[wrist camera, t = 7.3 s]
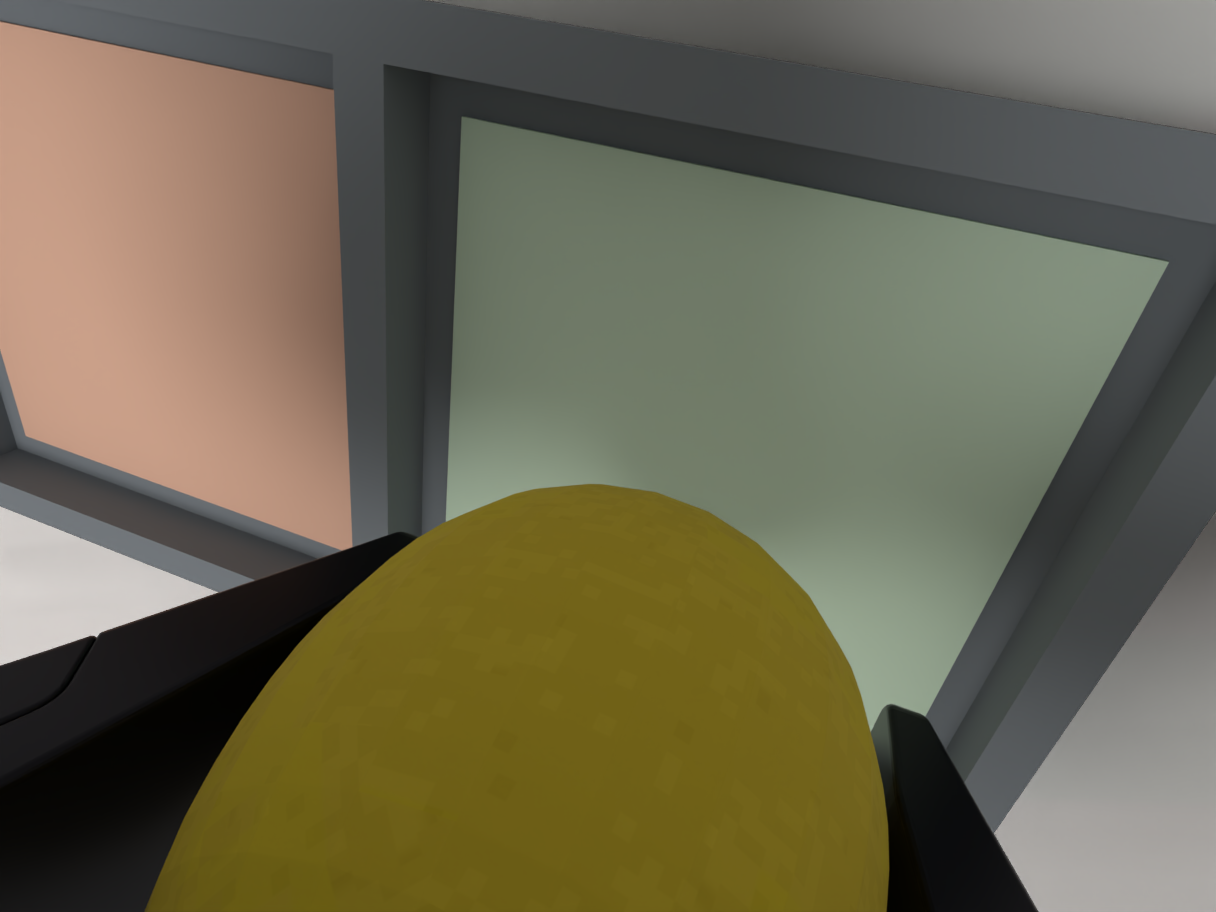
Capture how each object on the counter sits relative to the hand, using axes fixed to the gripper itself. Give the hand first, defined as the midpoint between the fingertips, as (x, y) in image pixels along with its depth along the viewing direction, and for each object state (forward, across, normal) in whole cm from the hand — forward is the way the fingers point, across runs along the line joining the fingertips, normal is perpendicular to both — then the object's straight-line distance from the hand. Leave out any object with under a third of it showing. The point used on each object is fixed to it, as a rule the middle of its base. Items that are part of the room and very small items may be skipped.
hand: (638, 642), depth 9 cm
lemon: (+2, 0, 0) cm, 2 cm away
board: (+5, +6, 0) cm, 8 cm away
